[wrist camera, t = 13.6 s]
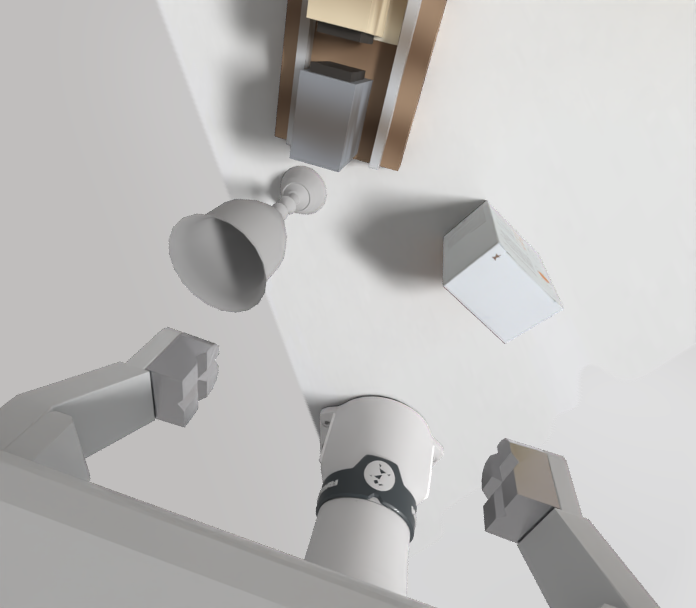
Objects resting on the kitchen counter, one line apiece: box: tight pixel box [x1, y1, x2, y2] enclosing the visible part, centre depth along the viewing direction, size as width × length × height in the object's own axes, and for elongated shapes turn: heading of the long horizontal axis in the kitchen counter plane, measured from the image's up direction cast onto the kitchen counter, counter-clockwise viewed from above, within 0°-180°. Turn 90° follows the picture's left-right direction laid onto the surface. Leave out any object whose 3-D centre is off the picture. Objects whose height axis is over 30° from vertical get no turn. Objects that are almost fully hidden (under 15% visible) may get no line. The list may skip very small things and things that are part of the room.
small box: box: [443, 200, 564, 344], centre depth 35 cm, size 8×6×10 cm
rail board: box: [275, 0, 447, 172], centre depth 29 cm, size 18×12×9 cm, turn 168°
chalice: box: [169, 166, 327, 312], centre depth 33 cm, size 7×7×18 cm
